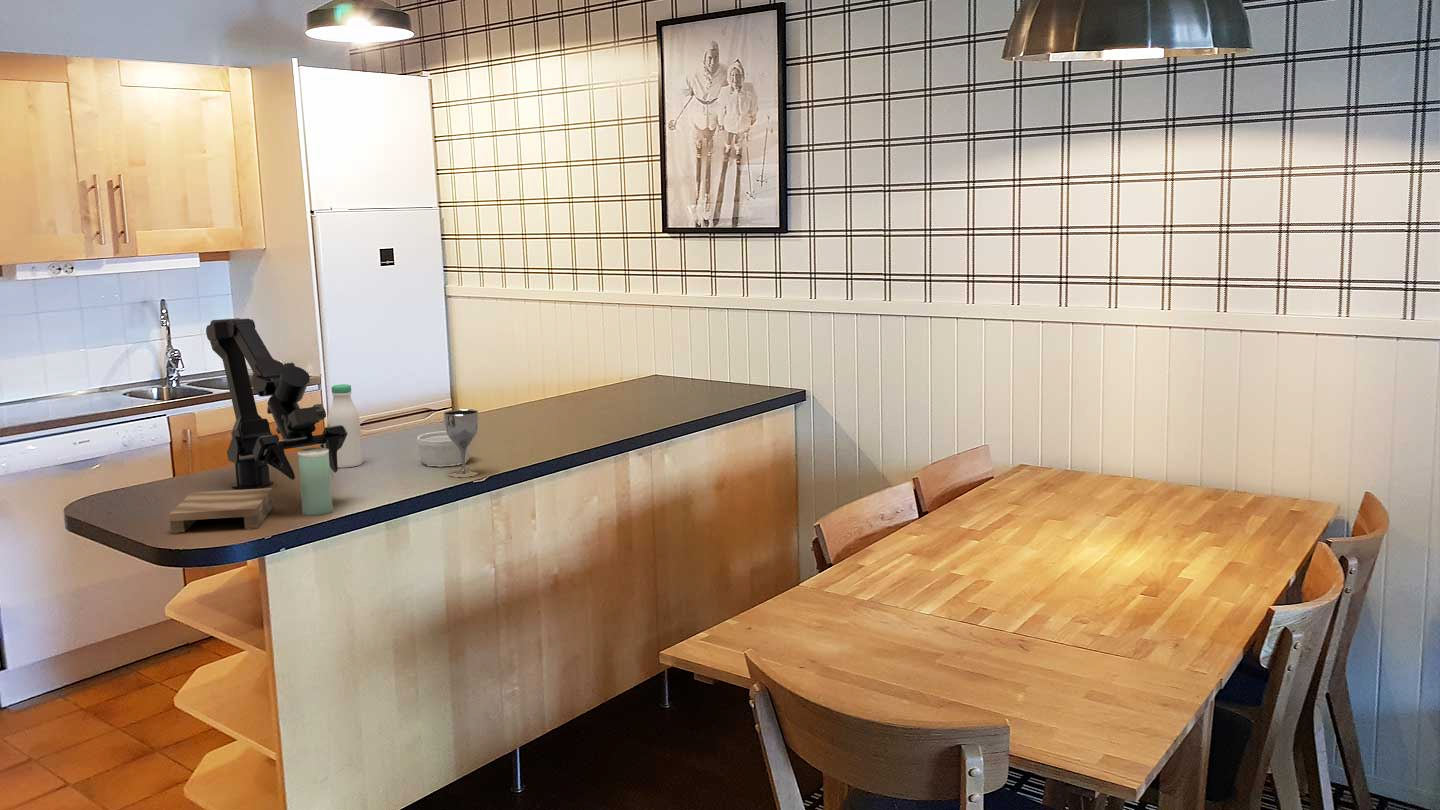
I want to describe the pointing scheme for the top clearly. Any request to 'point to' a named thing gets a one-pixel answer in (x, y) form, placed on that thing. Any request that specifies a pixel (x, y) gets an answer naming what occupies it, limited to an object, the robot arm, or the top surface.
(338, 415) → the milk bottle
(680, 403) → the top surface
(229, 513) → the wooden pallet
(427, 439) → the ramekin
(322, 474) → the tumbler
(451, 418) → the wine glass
